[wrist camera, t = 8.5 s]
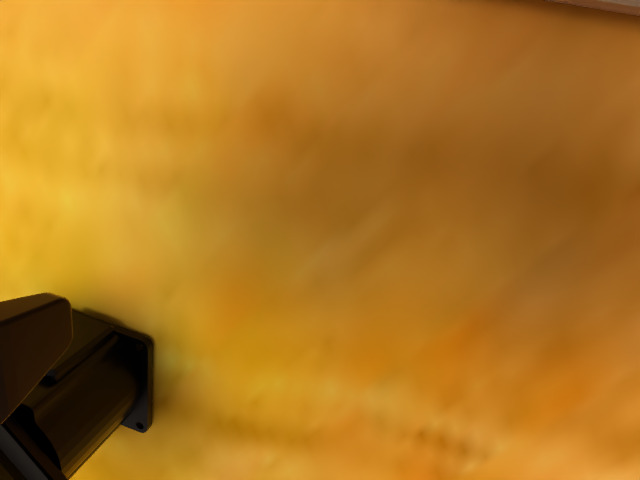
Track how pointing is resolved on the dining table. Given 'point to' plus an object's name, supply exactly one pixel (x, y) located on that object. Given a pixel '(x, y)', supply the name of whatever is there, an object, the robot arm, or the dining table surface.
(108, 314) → the dining table surface
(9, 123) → the dining table surface
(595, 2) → the base
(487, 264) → the dining table surface
